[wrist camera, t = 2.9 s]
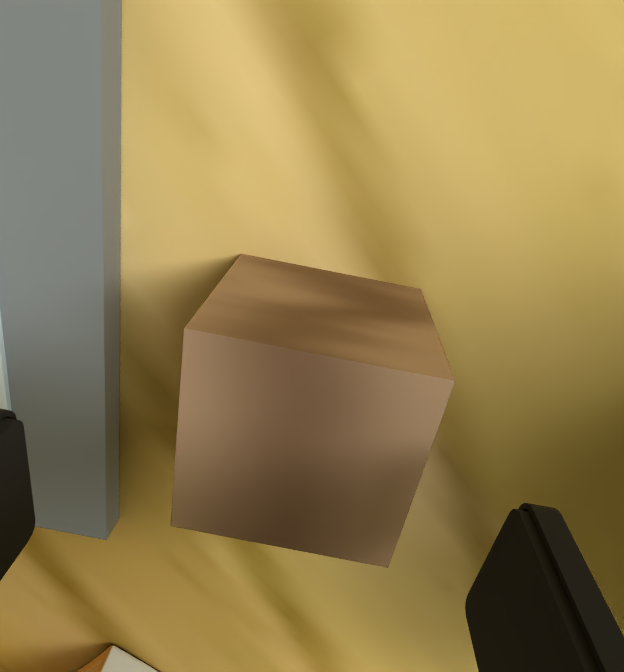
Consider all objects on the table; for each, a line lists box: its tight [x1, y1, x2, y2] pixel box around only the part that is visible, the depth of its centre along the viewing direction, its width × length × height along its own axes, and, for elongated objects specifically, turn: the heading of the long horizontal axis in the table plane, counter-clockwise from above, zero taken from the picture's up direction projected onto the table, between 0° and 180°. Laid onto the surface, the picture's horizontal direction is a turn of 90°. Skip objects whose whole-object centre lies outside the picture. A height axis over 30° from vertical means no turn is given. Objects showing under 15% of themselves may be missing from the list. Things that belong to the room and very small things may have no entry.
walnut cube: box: [171, 254, 455, 568], centre depth 14 cm, size 6×6×6 cm
